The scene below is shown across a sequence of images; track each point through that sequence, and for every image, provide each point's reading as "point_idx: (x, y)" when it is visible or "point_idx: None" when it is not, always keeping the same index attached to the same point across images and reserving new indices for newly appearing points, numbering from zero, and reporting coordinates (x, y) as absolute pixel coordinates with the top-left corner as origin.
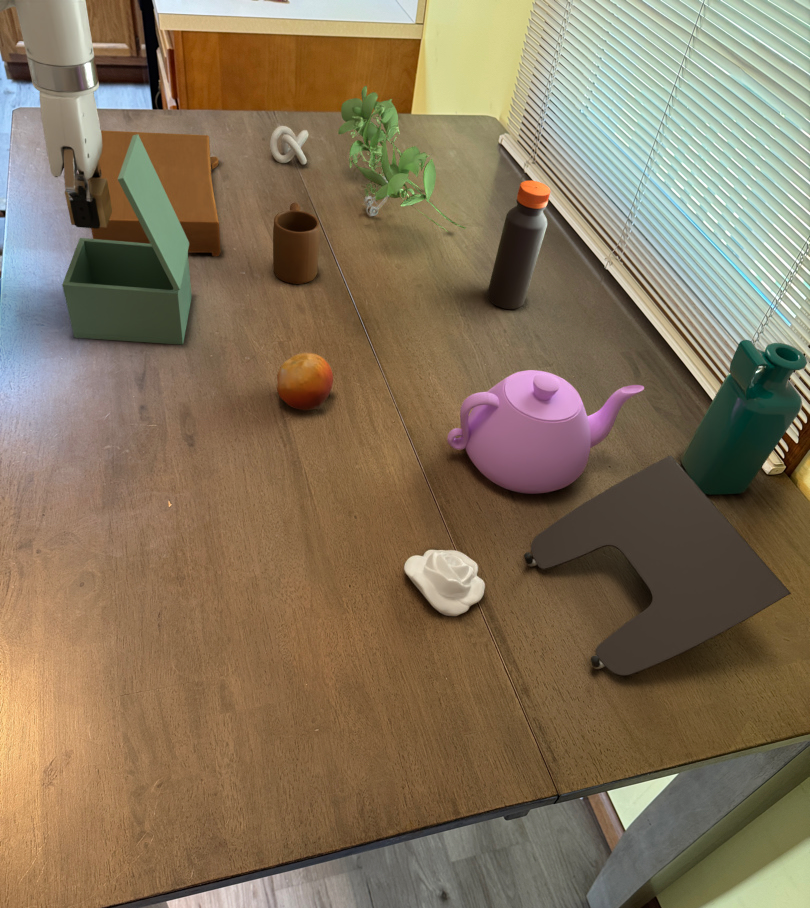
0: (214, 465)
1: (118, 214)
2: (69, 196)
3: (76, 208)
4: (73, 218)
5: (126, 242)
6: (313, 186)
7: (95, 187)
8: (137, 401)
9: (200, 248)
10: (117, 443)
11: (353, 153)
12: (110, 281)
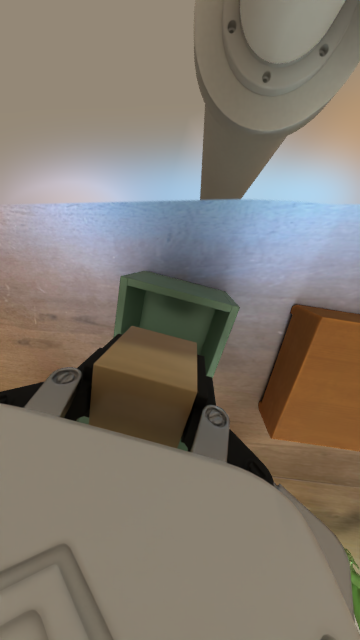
0: (3, 351)
1: (323, 352)
2: (49, 377)
3: (82, 365)
4: (112, 339)
5: (216, 361)
6: (354, 491)
7: (123, 433)
8: (60, 314)
9: (265, 399)
10: (12, 294)
11: (350, 571)
12: (215, 316)
